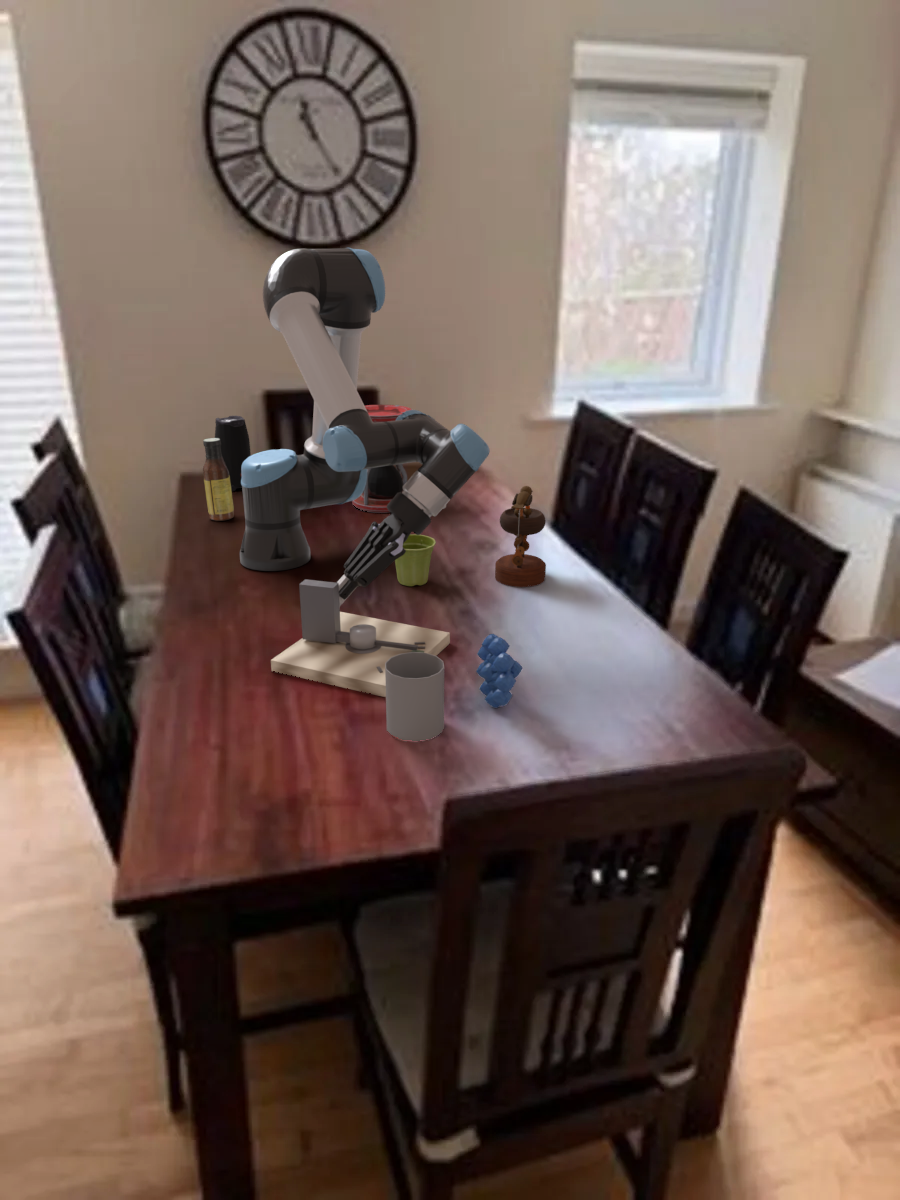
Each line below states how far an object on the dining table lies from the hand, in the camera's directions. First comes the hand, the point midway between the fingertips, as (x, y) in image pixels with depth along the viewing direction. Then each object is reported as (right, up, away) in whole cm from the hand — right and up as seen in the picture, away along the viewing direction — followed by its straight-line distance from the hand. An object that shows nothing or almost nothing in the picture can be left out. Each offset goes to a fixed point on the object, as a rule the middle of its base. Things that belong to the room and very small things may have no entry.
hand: (325, 608), depth 150 cm
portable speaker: (-39, +33, +97) cm, 110 cm away
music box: (+36, +6, +34) cm, 50 cm away
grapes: (+29, -15, -17) cm, 36 cm away
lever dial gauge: (+6, -6, -2) cm, 9 cm away
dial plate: (+7, -8, -2) cm, 11 cm away
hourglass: (+3, +26, +83) cm, 87 cm away
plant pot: (+13, +5, +31) cm, 34 cm away
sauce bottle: (-36, +22, +71) cm, 83 cm away
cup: (+16, -17, -23) cm, 33 cm away
